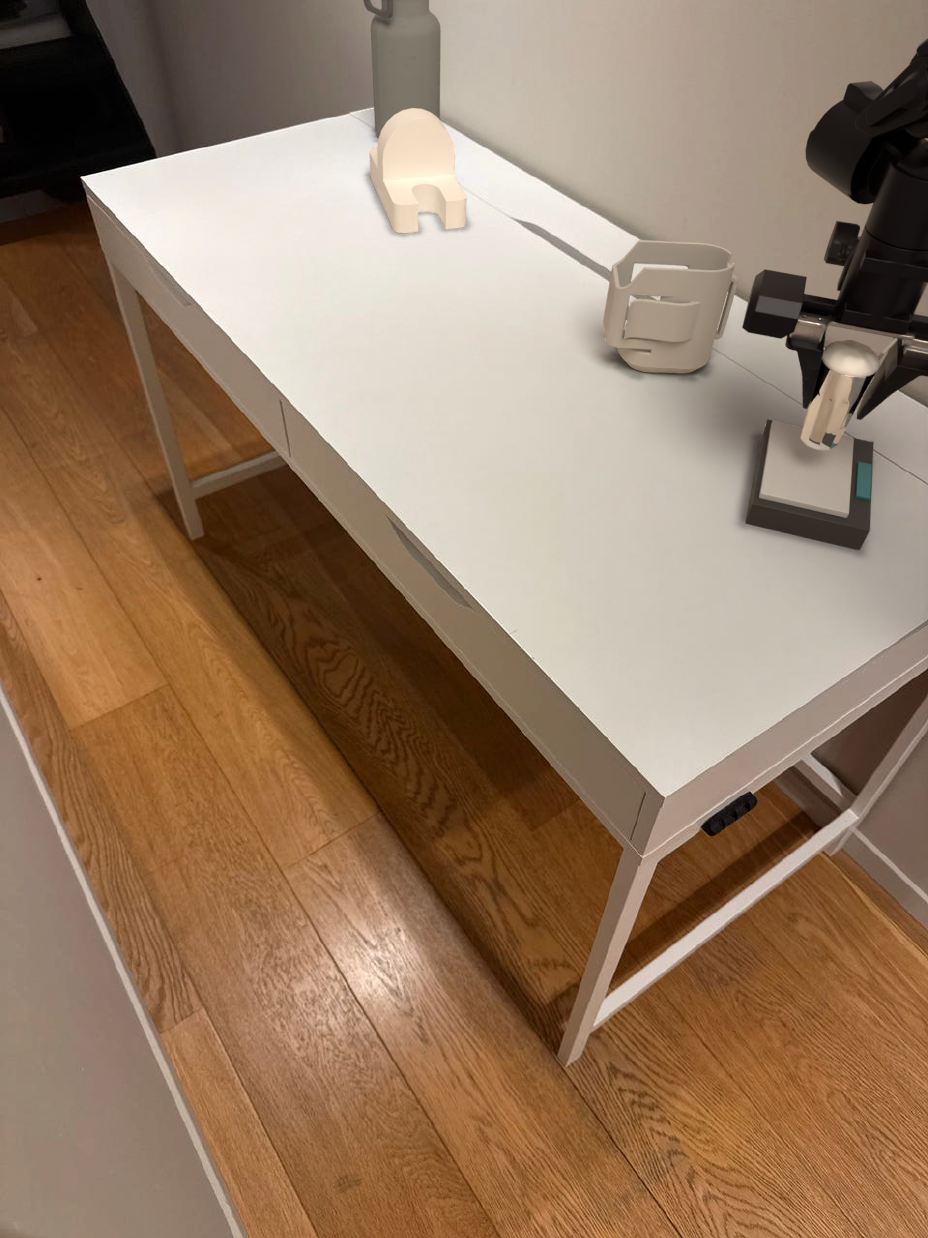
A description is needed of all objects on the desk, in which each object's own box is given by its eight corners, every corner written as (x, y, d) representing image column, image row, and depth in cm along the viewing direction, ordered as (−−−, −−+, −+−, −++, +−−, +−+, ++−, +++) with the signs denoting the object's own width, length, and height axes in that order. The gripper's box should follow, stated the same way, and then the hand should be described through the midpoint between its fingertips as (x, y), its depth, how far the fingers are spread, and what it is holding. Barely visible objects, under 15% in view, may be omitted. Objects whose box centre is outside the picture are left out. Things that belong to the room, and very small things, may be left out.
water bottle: (398, 153, 129) (392, -87, 108) (360, 131, 134) (347, -103, 113) (452, 137, 134) (457, -97, 112) (413, 116, 138) (411, -112, 117)
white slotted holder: (435, 169, 126) (435, 85, 118) (467, 227, 115) (470, 139, 107) (369, 174, 124) (365, 89, 116) (395, 233, 113) (393, 144, 105)
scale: (864, 461, 86) (876, 436, 84) (859, 550, 78) (872, 525, 75) (760, 438, 88) (769, 413, 85) (745, 523, 79) (754, 498, 77)
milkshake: (860, 456, 77) (906, 353, 69) (799, 455, 77) (839, 352, 69) (845, 424, 80) (888, 323, 72) (786, 423, 80) (823, 321, 72)
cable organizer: (598, 343, 98) (615, 237, 89) (709, 349, 98) (738, 243, 89) (601, 378, 94) (620, 271, 84) (719, 384, 94) (750, 277, 84)
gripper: (1032, 207, 68) (943, 382, 79) (784, 168, 71) (734, 341, 83) (1047, 275, 60) (946, 456, 72) (771, 228, 64) (718, 408, 76)
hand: (832, 411), depth 76 cm, fingers closed on milkshake, 4 cm apart
